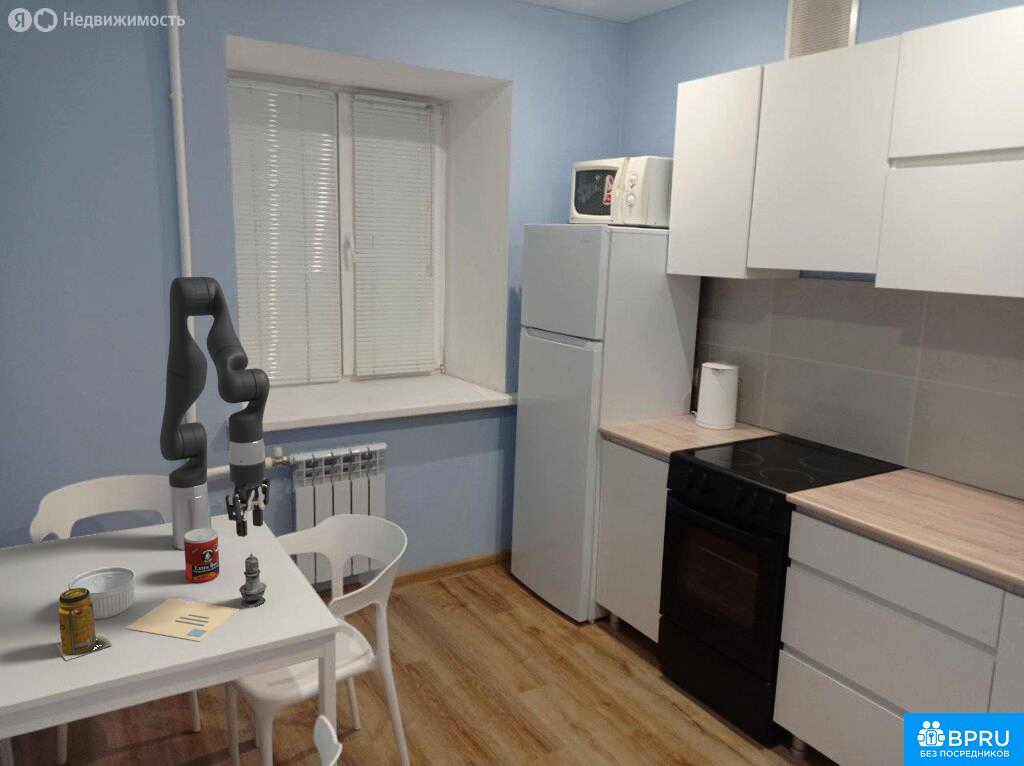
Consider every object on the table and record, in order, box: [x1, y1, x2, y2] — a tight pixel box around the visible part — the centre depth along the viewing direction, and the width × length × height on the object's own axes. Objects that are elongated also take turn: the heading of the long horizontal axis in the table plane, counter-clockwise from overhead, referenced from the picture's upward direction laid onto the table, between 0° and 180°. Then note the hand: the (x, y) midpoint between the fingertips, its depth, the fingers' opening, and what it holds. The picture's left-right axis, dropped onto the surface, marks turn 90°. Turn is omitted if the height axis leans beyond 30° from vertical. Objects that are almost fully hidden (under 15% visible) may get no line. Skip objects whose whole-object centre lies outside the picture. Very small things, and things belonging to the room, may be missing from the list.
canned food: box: [184, 528, 220, 584], centre depth 184 cm, size 8×8×11 cm
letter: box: [125, 597, 240, 642], centre depth 164 cm, size 14×18×1 cm
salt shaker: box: [238, 553, 267, 609], centre depth 171 cm, size 6×6×12 cm
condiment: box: [56, 588, 113, 661], centre depth 152 cm, size 7×8×12 cm
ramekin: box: [68, 566, 137, 620], centre depth 168 cm, size 13×13×7 cm
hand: (250, 530), depth 169 cm, fingers open, 5 cm apart
